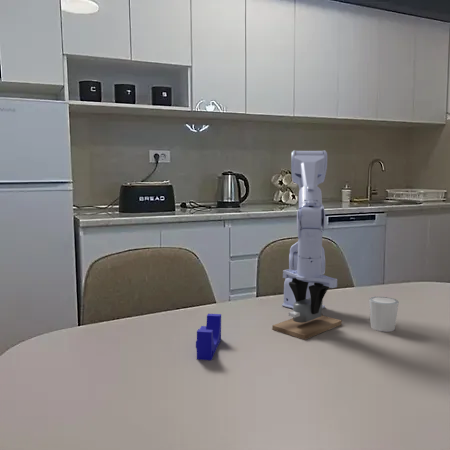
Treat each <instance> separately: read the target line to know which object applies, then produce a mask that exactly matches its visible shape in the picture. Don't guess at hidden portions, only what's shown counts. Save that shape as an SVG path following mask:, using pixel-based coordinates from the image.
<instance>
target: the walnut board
mask: <svg viewBox="0 0 450 450" xmlns="http://www.w3.org/2000/svg"><path fill="white" fill-rule="evenodd" d="M342 323H343V321H342V320H341V319H338V318H334V317H331V316H326V315H323V314H322V316H321V317H318V318H315V319H313V320H310V321H307V322H303V323H301V322H295V321H293V317H291V318H290V319H287V320H284V321H282V322H278V323H275V324H273V325H272V327H271V329H272V330H273V331H277V332H279V333H282V334H285V335H289V336H292V337H294V338H298V339H301V340H305V341H306V340H307V339H309V338H313V337H315V336H317V335H320V334H322V333H324V332H326V331H330V330H331V329H334V328H337V327H339V326H341V325H342Z"/></svg>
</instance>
